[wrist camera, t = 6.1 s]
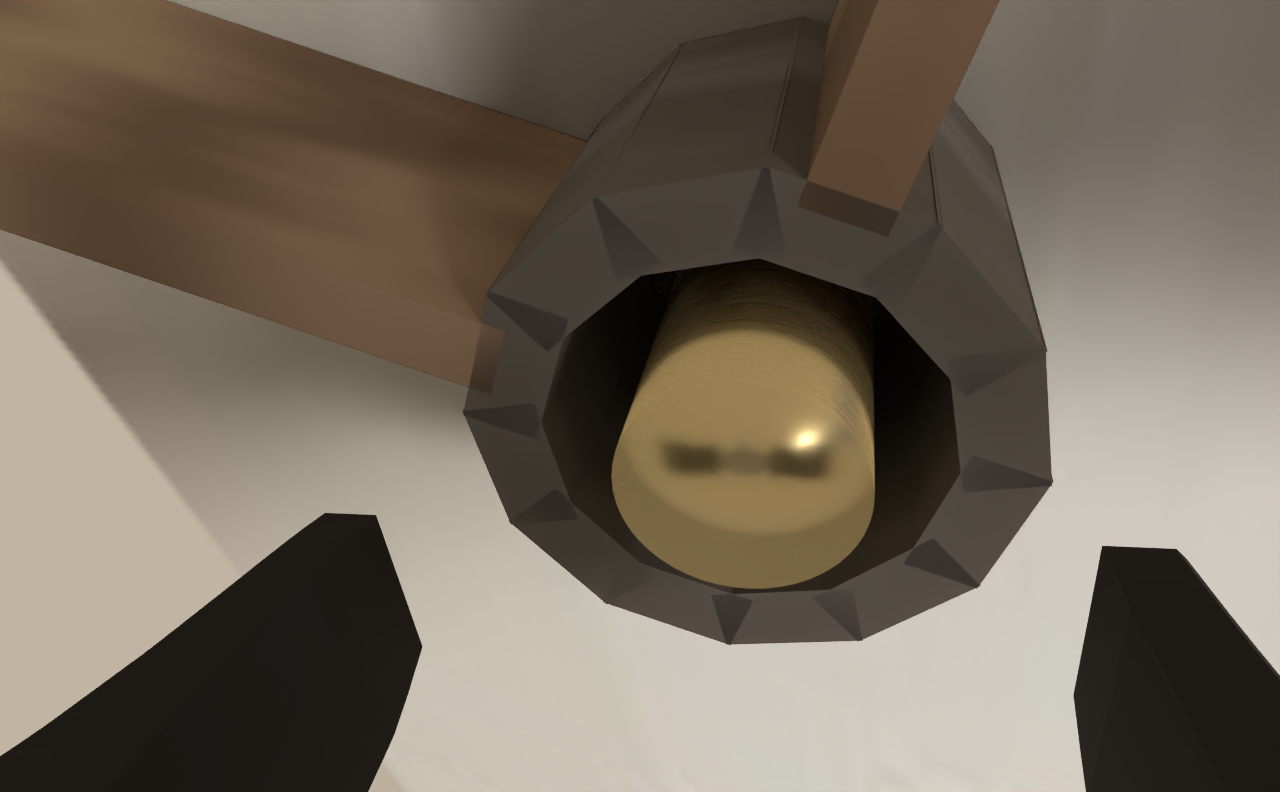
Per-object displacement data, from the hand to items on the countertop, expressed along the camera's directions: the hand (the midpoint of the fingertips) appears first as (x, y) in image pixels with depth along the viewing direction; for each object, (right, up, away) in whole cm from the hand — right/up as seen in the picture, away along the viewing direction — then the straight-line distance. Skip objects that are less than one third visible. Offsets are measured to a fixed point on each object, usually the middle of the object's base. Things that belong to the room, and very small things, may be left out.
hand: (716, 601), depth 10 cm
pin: (+2, +5, +7) cm, 9 cm away
